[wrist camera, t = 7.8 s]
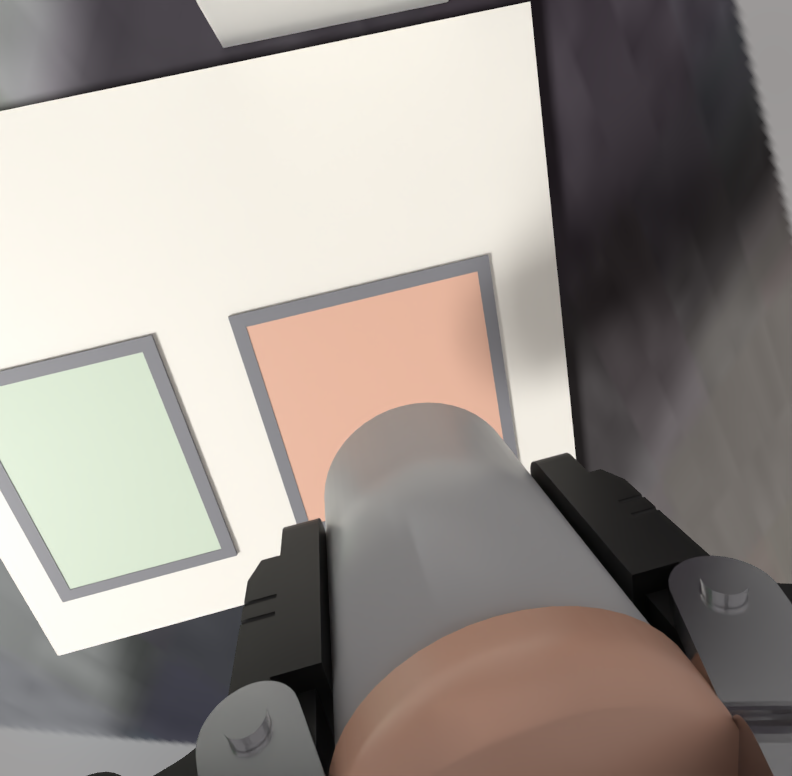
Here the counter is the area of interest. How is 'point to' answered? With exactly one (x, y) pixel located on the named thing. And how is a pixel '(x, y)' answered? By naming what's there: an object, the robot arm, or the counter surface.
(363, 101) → the picture board
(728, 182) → the counter surface
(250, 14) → the white open box
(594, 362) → the counter surface
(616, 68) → the counter surface
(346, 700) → the peach-capped grey cylinder
